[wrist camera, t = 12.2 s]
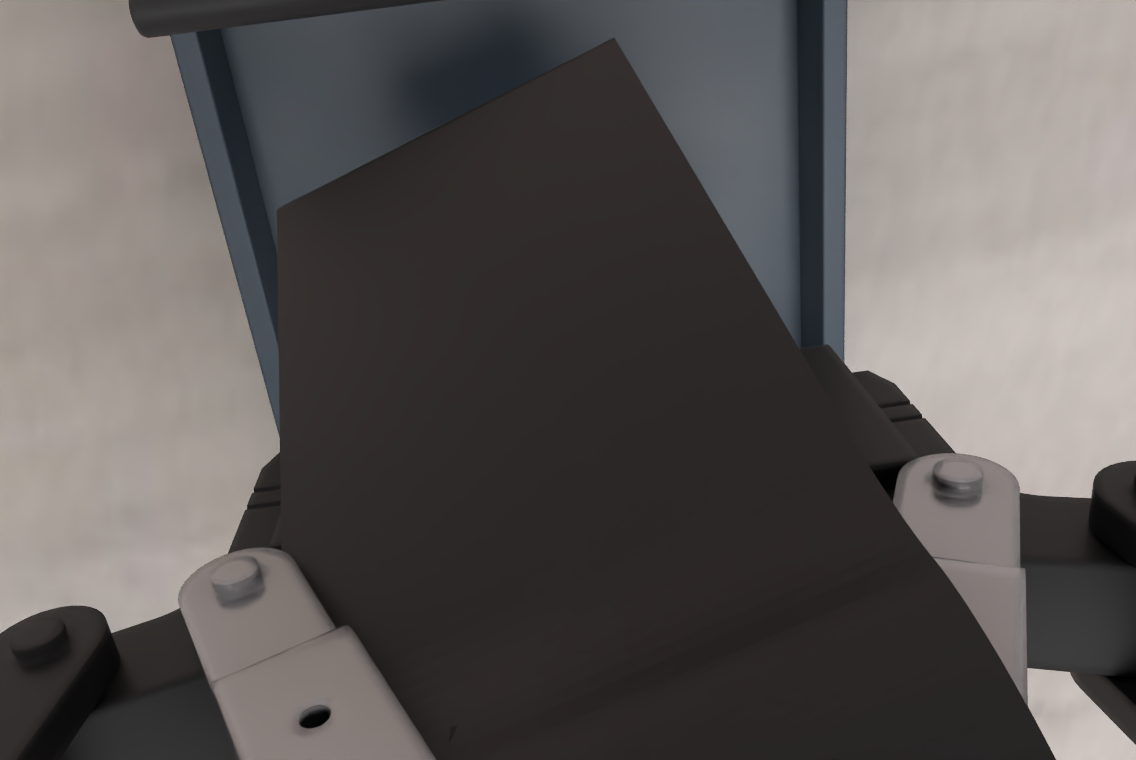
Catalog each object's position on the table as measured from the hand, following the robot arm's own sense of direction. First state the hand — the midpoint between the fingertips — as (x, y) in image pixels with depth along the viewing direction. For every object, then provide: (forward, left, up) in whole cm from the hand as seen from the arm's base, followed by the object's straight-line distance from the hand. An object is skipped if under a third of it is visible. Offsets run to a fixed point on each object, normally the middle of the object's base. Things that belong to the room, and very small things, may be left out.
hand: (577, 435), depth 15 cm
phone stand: (0, 0, -3) cm, 3 cm away
